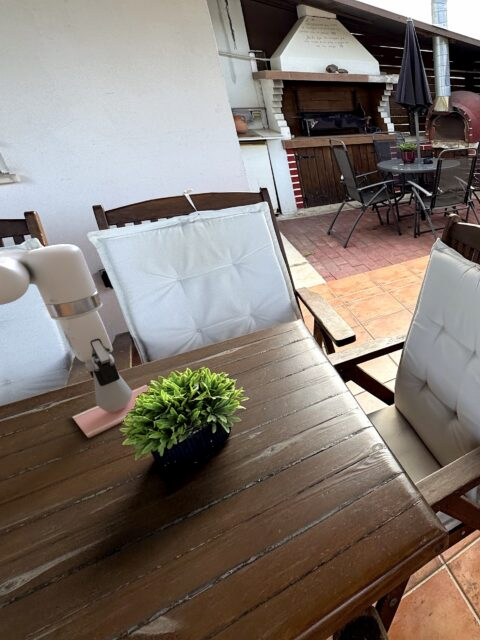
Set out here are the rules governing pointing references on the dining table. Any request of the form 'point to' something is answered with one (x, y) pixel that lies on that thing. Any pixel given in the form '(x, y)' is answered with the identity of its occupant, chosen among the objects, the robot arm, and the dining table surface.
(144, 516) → the dining table surface
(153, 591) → the dining table surface
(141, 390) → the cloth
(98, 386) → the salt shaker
